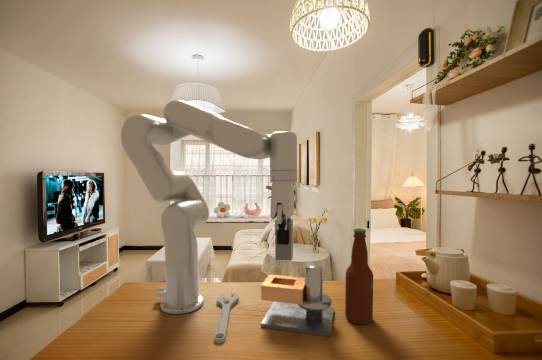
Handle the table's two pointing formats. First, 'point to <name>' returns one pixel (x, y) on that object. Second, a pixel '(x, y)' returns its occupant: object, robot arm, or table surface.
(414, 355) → the table surface
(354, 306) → the bottle
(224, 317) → the adjustable wrench
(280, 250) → the grey rectangular block
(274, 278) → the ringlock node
